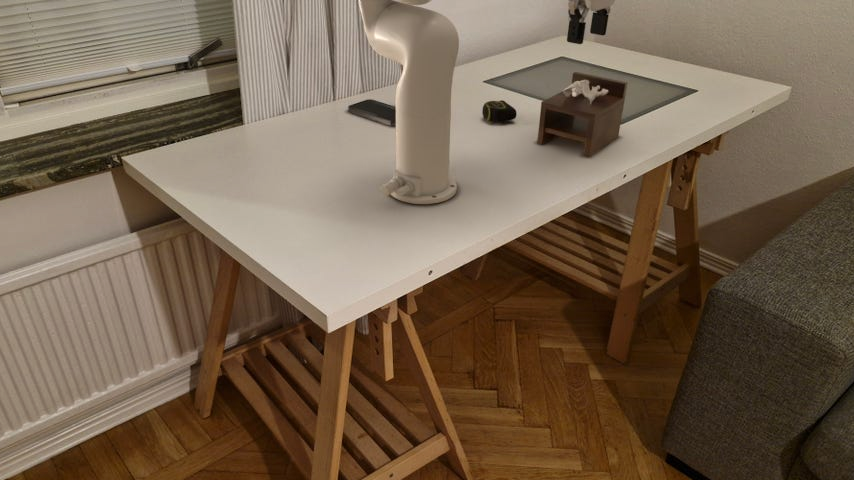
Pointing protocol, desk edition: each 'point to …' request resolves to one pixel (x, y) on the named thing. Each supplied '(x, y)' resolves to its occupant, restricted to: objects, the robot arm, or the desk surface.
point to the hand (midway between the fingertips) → (586, 38)
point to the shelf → (584, 114)
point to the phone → (375, 111)
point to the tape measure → (498, 111)
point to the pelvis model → (584, 90)
